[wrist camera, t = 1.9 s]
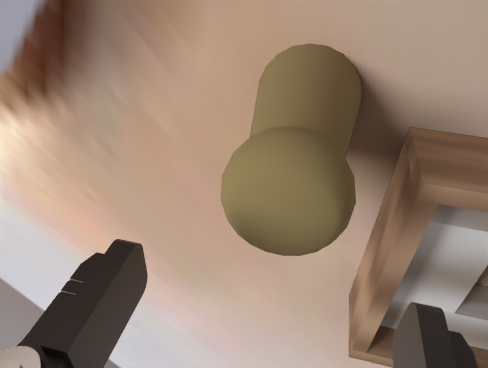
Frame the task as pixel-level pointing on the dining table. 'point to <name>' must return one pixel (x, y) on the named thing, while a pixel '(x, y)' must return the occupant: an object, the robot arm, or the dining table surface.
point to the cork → (296, 154)
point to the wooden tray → (426, 246)
